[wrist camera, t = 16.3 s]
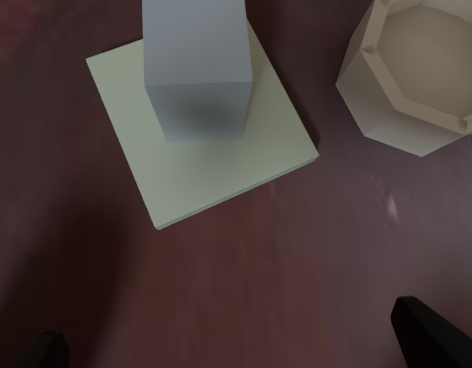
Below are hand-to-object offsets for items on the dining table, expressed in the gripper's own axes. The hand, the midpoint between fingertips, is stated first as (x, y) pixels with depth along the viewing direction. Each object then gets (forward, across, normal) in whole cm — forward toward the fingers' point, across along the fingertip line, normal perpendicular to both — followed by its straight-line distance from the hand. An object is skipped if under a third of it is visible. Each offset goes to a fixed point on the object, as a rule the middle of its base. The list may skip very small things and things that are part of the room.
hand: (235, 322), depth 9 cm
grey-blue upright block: (+17, +1, 0) cm, 17 cm away
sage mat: (+18, +1, +1) cm, 18 cm away
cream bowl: (+19, -16, 0) cm, 25 cm away
